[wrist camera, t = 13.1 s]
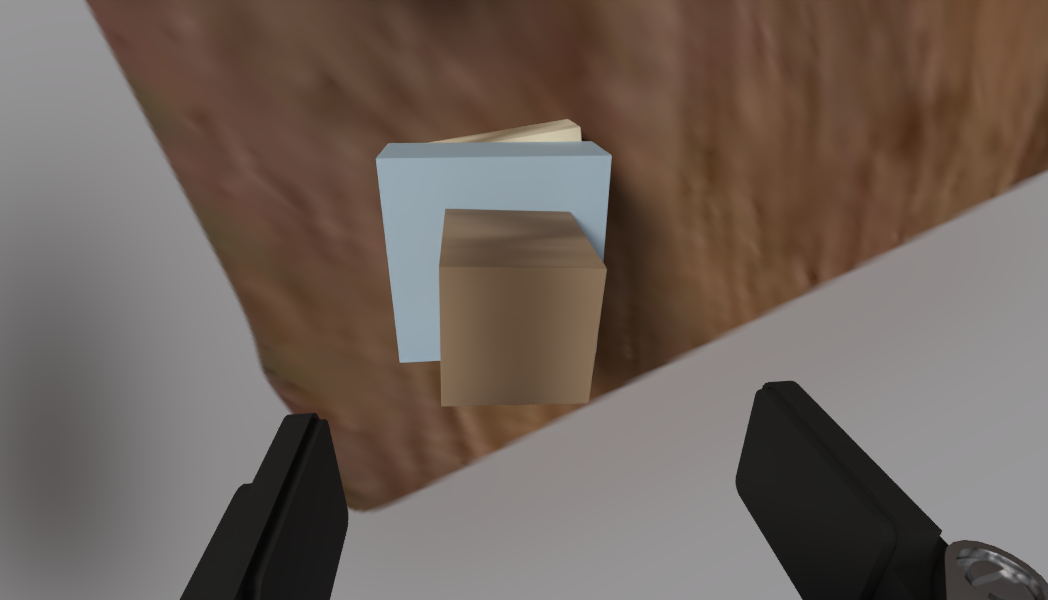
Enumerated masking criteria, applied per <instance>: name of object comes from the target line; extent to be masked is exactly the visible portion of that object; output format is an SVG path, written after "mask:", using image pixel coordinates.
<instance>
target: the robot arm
mask: <svg viewBox="0 0 1048 600" xmlns="http://www.w3.org/2000/svg"><path fill="white" fill-rule="evenodd" d="M736 488H737V491H738V494H739V496H740V497H741V499H742V501H743V502H744V504H745V505H746V507H747V509H748V510H749V512H750V514H751V515H752V517H753V519H754V520H755V522H756V524H757V525H758V527H759V529H760V530H761V532H762V534H763V535H764V537H765V538H766V540H767V542H768V543H769V545H770V547H771V548H772V550H773V552H774V553H775V555H776V556H777V558H778V560H779V561H780V563H781V565H782V566H783V568H784V570H785V571H786V573H787V575H788V576H789V578H790V580H791V581H792V583H793V584H794V586H795V588H796V589H797V591H798V593H799V594H800V596H801V598H802V599H803V600H1048V583H1047V582H1046V581H1045V580H1044V579H1043V577H1042V576H1041V575H1039V574H1038V573H1037V572H1036V571H1035V570H1034V569H1032V568H1031V567H1030V566H1029V565H1028V564H1026V563H1025V562H1023V561H1021V560H1020V559H1018V558H1017V557H1015V556H1013V555H1012V554H1009V553H1008V552H1005V551H1003V550H1001V549H999V548H997V547H995V546H992V545H988V544H985V543H982V542H978V541H968V540H962V541H957V542H953V543H952V544H951V545H948V544H947V543H946V542H945V541H944V540H943V539H942V538H941V537H940V534H941V532H942V530H941V529H940V528H939V527H938V526H937V525H936V524H935V523H934V522H933V521H932V520H931V519H930V518H929V517H928V516H927V515H926V514H925V513H924V512H923V511H922V510H921V509H920V508H919V507H918V506H917V505H916V504H915V503H914V502H913V501H912V500H911V499H910V498H909V497H908V496H907V495H906V494H905V493H904V492H903V491H902V489H901V488H900V487H899V486H898V485H897V484H896V483H894V481H893V480H892V479H891V478H890V477H889V476H888V475H887V474H886V473H885V472H884V471H883V470H882V469H881V468H880V467H879V466H878V465H877V464H876V463H875V462H874V461H873V460H872V459H871V458H870V457H869V456H868V455H867V454H866V453H865V452H864V451H863V450H862V449H861V448H860V447H859V446H858V445H857V444H856V443H855V442H854V441H853V440H852V439H851V438H850V437H849V435H847V433H846V432H845V431H844V430H843V429H842V428H841V427H840V426H839V425H838V424H837V423H836V422H835V421H834V420H833V419H832V418H831V417H830V416H829V415H828V414H827V413H826V412H825V411H824V410H823V409H822V408H821V407H820V406H819V405H818V404H817V403H816V402H815V401H814V400H813V399H812V398H811V397H810V396H809V395H808V394H807V393H806V392H805V391H804V390H803V389H802V388H801V387H800V386H799V385H798V384H797V383H796V382H794V381H782V382H781V381H780V382H768V383H765V384H764V385H763V388H762V389H760V390H758V391H757V392H756V395H755V398H754V403H753V407H752V411H751V415H750V419H749V424H748V428H747V432H746V436H745V441H744V445H743V449H742V453H741V457H740V462H739V466H738V470H737V475H736ZM347 527H348V509H347V504H346V500H345V495H344V491H343V487H342V482H341V478H340V473H339V469H338V464H337V460H336V455H335V451H334V446H333V442H332V437H331V433H330V428H329V424H328V421H327V420H326V419H322V420H319V417H318V415H317V414H316V413H306V414H291V415H287V416H286V417H285V418H284V419H283V421H282V423H281V425H280V427H279V429H278V431H277V433H276V436H275V438H274V440H273V442H272V444H271V446H270V448H269V450H268V452H267V454H266V456H265V458H264V460H263V462H262V464H261V466H260V468H259V470H258V472H257V474H256V476H255V478H254V480H253V483H250V484H243V485H242V486H240V487H239V488H238V490H237V491H236V493H235V494H234V496H233V498H232V500H231V502H230V504H229V506H228V508H227V510H226V511H225V513H224V515H223V517H222V519H221V521H220V523H219V525H218V527H217V529H216V531H215V533H214V535H213V537H212V538H211V541H210V542H209V544H208V546H207V548H206V550H205V552H204V554H203V556H202V558H201V560H200V562H199V563H198V566H197V567H196V570H195V571H194V573H193V575H192V577H191V579H190V581H189V583H188V585H187V587H186V589H185V590H184V592H183V595H182V596H181V598H180V600H330V597H331V592H332V588H333V584H334V580H335V576H336V572H337V568H338V564H339V560H340V556H341V552H342V548H343V544H344V540H345V536H346V532H347Z"/></svg>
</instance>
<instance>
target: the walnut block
mask: <svg viewBox="0 0 1048 600" xmlns="http://www.w3.org/2000/svg"><path fill="white" fill-rule="evenodd" d="M606 272H607V268H606V266H605V265H604V263H603V262H602V260H601V259H600V257H599V256H598V254H597V253H596V251H595V250H594V248H593V246H592V245H591V243H590V242H589V240H588V239H587V237H586V236H585V234H584V233H583V231H582V230H581V228H580V227H579V225H578V223H577V222H576V220H575V219H574V217H573V216H572V214H571V213H570V212H560V211H520V210H479V209H445V215H444V224H443V234H442V243H441V252H440V261H439V303H440V359H441V406H479V405H526V404H573V403H589V396H590V389H591V382H592V374H593V367H594V360H595V352H596V345H597V338H598V330H599V323H600V316H601V309H602V301H603V294H604V287H605V279H606Z"/></svg>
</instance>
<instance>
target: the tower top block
mask: <svg viewBox="0 0 1048 600" xmlns="http://www.w3.org/2000/svg"><path fill="white" fill-rule="evenodd" d="M611 158H612V155H610V154H609V153H608V152H606V151H605V150H603V149H602V148H601V147H599V146H598V145H596V144H595V143H593V142H592V141H566V142H473V143H388V144H387V146H386V147H385V148H384V149H383V150H382V152H381V153H380V154H379V155H378V157H377V158H376V164H377V172H378V181H379V189H380V198H381V206H382V215H383V223H384V232H385V240H386V248H387V257H388V265H389V274H390V282H391V291H392V299H393V308H394V316H395V325H396V333H397V342H398V350H399V359H400V363H403V362H422V361H441V359H440V303H439V261H440V252H441V243H442V234H443V224H444V215H445V209H479V210H520V211H560V212H570V213H571V214H572V216H573V217H574V219H575V220H576V222H577V223H578V225H579V227H580V228H581V230H582V231H583V233H584V234H585V236H586V237H587V239H588V240H589V242H590V243H591V245H592V246H593V248H594V250H595V251H596V253H597V254H598V256H599V257H600V259H601V260H602V262H603V259H604V247H605V234H606V221H607V209H608V196H609V183H610V171H611ZM596 348H597V345H596ZM595 353H596V352H595Z"/></svg>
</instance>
